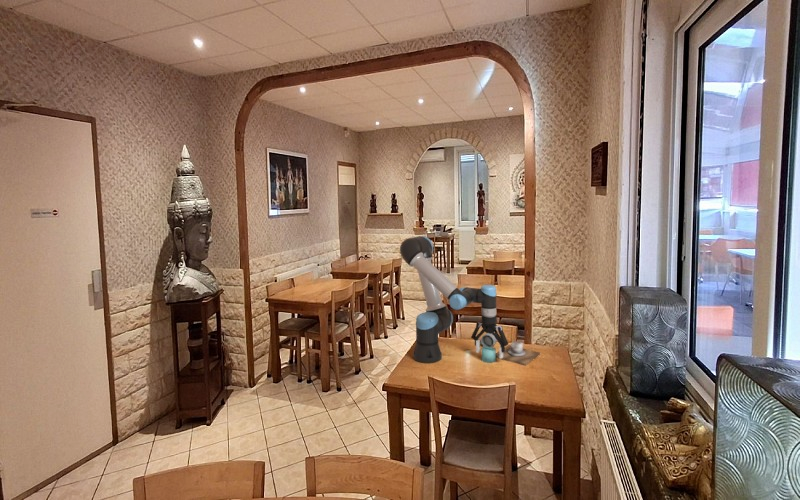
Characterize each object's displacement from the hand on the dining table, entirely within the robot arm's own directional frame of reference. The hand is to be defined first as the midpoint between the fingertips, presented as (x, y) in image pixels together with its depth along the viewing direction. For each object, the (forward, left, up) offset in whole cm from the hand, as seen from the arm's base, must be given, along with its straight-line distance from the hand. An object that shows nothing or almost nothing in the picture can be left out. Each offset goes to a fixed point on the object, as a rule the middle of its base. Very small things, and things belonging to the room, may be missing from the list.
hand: (489, 355), depth 216 cm
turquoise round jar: (0, 0, -3) cm, 3 cm away
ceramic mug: (-11, +18, -3) cm, 21 cm away
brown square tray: (+9, +14, -3) cm, 17 cm away
